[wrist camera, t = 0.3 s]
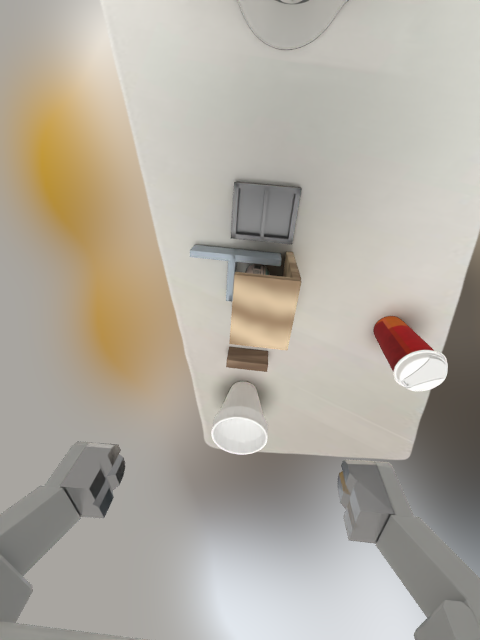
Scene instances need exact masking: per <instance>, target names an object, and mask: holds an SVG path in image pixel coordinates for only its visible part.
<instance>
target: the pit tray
mask: <svg viewBox="0 0 480 640" xmlns="http://www.w3.org/2000/svg"><path fill="white" fill-rule="evenodd" d="M301 190H302V188H299V187H288V186H277V185H267V184H256V183H245V182H234V195H233V211H232V227H231V238H234V239H244V240H254V241H264V242H274V243H284V244H292V242H293V236H294V230H295V224H296V219H297V213H298V207H299V201H300V195H301Z"/></svg>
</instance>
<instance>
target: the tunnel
mask: <svg viewBox="0 0 480 640" xmlns="http://www.w3.org/2000/svg"><path fill="white" fill-rule="evenodd" d="M300 286H301V277H300V273H299V270H298V267H297V264H296V261H295V257H294V254H293V252H286V258H285V264H284V270H283V276H282V277H281V276H271V275H262V274H252V273H242V272H235V275H234V289H233V303H232V317H231V330H230V344H235V345H244V346H253V347H262V348H271V349H280V350H287V349H288V345H289V340H290V335H291V330H292V325H293V320H294V315H295V310H296V305H297V301H298V296H299V291H300Z"/></svg>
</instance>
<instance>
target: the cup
mask: <svg viewBox="0 0 480 640" xmlns="http://www.w3.org/2000/svg"><path fill="white" fill-rule="evenodd" d="M267 431H268V424H267V421H266V419H265V418H264V415H263V411H262V407H261V404H260V400H259V397H258V393H257V390H256V387H255V386H254V385H253V384H251V383H249V382H245V381H241V382H237V383H235V384H234V385H232V387H231V389H230V391H229V393H228V395H227V397H226V399H225V401H224V403H223V405H222V407H221V409H220V411H219V412H218V413H217V414H216V416H215V417H214V421H213V428H212V432H211V435H212V439H213V441H214V442H215V444H216V445H217V446H218V447H220V448H221V449H223V450H225V451H227V452H230V453H234V454H244V455H245V454H251V453H254V452H257V451H259V450H260V449H262V448H263V447H264V446H265V445H266V442H267V440H268V437H267Z"/></svg>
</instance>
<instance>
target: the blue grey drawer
mask: <svg viewBox="0 0 480 640" xmlns="http://www.w3.org/2000/svg"><path fill="white" fill-rule="evenodd" d="M190 257H196V258H205V259H215V260H225V261H228V277H227V294H226V301H233V289H234V275H235V272H236V263H237V262H244V263H254V264H264V265H273V266H281V254H280V253H271V252H261V251H252V250H242V249H232V248H222V247H212V246H202V245H194V246H193V248H192V249H191V250H190Z"/></svg>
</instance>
